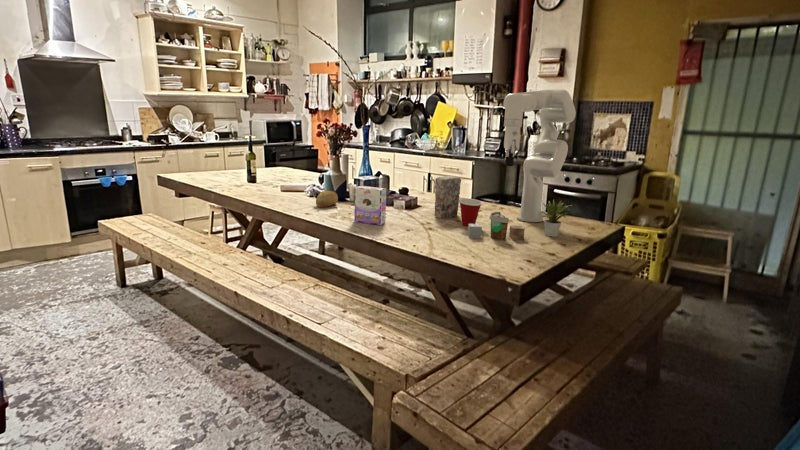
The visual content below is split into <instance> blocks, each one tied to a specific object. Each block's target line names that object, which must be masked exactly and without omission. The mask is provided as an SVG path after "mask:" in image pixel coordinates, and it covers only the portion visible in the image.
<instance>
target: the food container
mask: <svg viewBox="0 0 800 450" xmlns="http://www.w3.org/2000/svg"><path fill="white" fill-rule="evenodd" d="M489 220H490V238H491V239H493V240H497V241H506V239H507V234H508V233H507V232H508V226H509V223H510V222H509V221H510V219H509V217H505V215H502V214H501V211H493V212H491V213H490V215H489Z"/></svg>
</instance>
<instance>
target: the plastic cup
mask: <svg viewBox="0 0 800 450" xmlns="http://www.w3.org/2000/svg"><path fill="white" fill-rule="evenodd" d="M482 205H483V202H482V201H481V200H479V199H475V198H469V197H468V198H459V206H460V218H461V224H462V226H463V227H464V228H468V224H477V219H478V215H479V211H480V209H481V206H482Z"/></svg>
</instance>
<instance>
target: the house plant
mask: <svg viewBox="0 0 800 450" xmlns="http://www.w3.org/2000/svg"><path fill="white" fill-rule="evenodd" d="M564 203H565V202H562V199H561V200H560V201H559V202H558V204H556V203H555V198H553V200H552V203H551V201H550V199H549V200H548V204H545V203H544V202H542V205H543V206H544V208H545V209H546V210H547V211H546V212H545V211H542V210H540V212H542V213H544V214H546V213H547V214H548V215H547V214H546V215H547V216H548V217H546V218H547V219H545V220H544V234H545V236H546V235H547V237H550V236H552V237H551V238H553V237H554V238H556V237H558V234H559V232H560V227H561V224H562V222H561V221H560V220H559V219H561V218H562V217H563V218H565V219H567V214H568V212H565V213H562V212H563V211H569V210H571V209H570V208H569V207H571V206H573V204H571V205H565V206H563V204H564Z"/></svg>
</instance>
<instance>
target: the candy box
mask: <svg viewBox="0 0 800 450" xmlns="http://www.w3.org/2000/svg"><path fill="white" fill-rule="evenodd" d="M386 208H387V188H385V187H384V188H383V187H377V186H376V187H375V186H366V185H359V186H355V187H354V221H353V222H356V223H363V224H368V225H377V226H382V225H383V224H386V220H387V219H386V218H387V217H386V215H387V214H386V212H387V211H386Z"/></svg>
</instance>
